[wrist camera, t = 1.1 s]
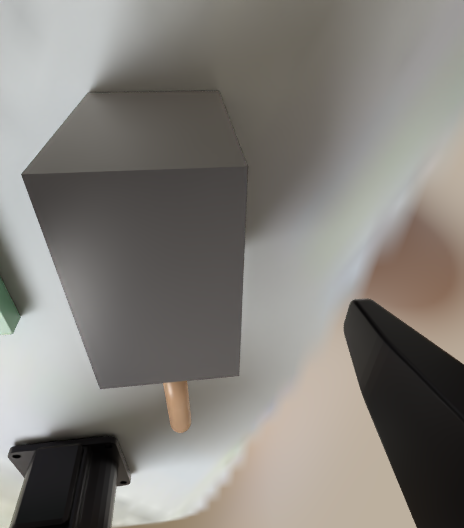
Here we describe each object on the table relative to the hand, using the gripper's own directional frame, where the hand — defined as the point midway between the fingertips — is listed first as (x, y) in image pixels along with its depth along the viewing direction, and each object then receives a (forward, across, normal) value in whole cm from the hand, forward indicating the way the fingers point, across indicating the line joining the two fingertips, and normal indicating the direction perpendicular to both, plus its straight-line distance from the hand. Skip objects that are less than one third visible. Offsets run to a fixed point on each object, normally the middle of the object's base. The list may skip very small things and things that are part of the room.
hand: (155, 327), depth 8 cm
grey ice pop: (+7, 0, +2) cm, 7 cm away
